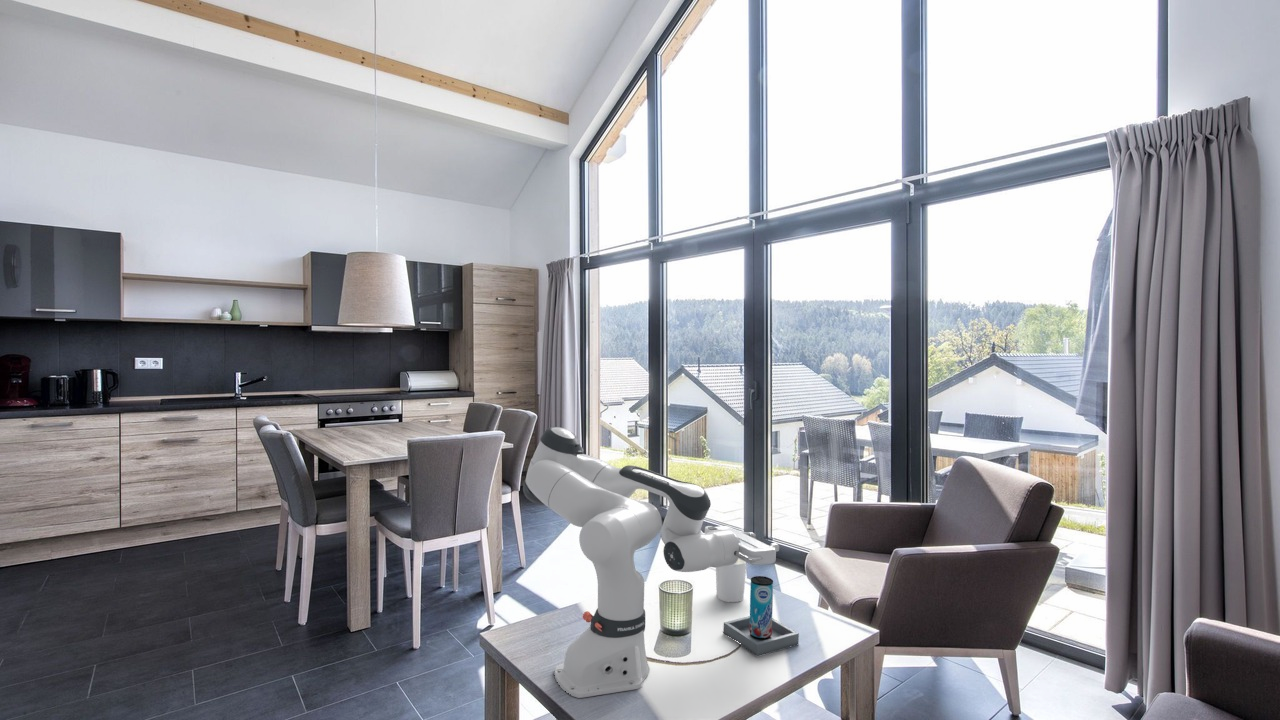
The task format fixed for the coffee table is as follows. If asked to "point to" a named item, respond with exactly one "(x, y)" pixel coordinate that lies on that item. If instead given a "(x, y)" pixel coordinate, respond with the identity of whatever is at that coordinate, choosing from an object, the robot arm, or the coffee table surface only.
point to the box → (777, 641)
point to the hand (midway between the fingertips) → (765, 541)
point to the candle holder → (731, 581)
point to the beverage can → (761, 607)
